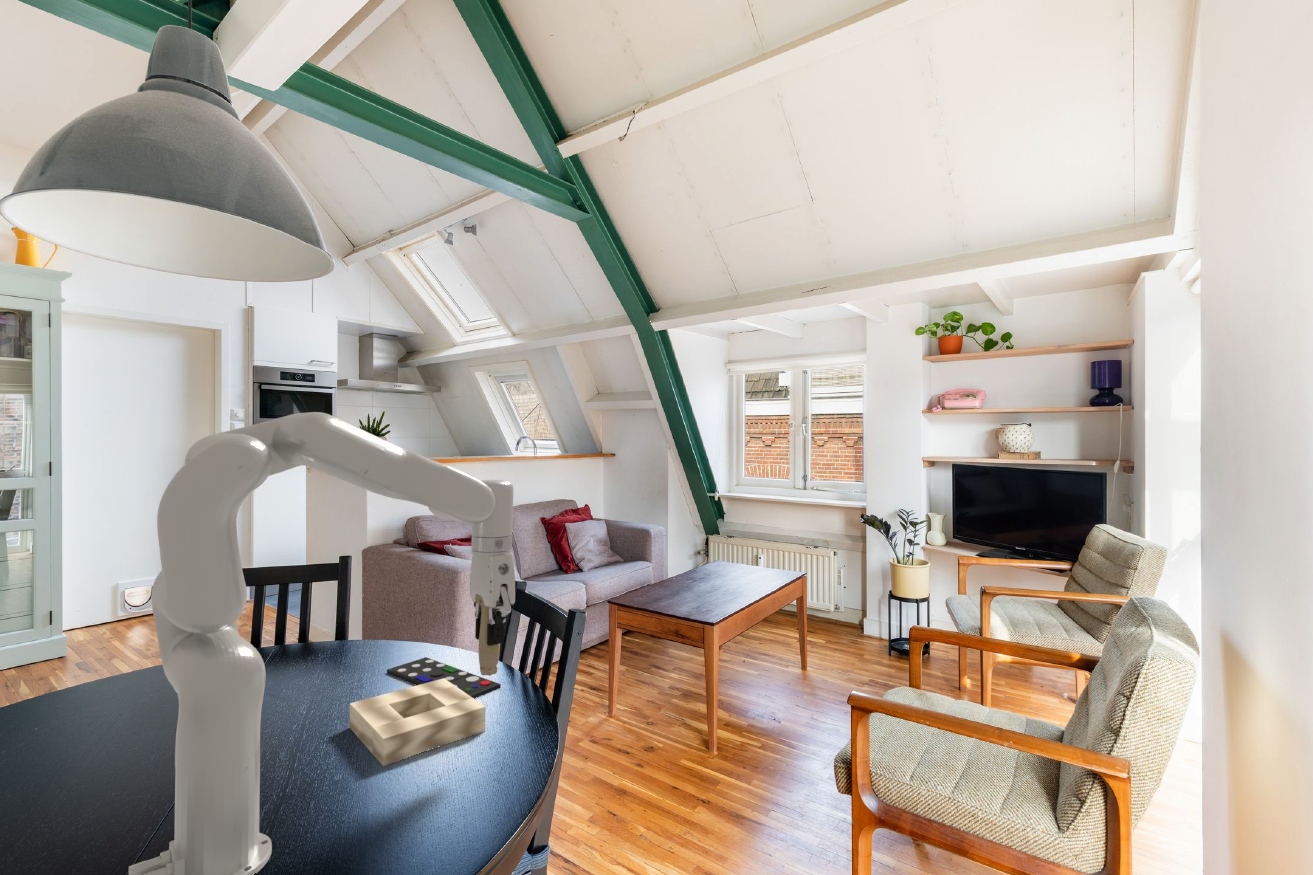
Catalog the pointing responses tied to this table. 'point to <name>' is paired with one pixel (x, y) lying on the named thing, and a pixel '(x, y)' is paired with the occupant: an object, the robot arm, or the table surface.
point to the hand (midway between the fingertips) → (489, 639)
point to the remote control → (443, 676)
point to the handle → (486, 652)
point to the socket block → (415, 720)
